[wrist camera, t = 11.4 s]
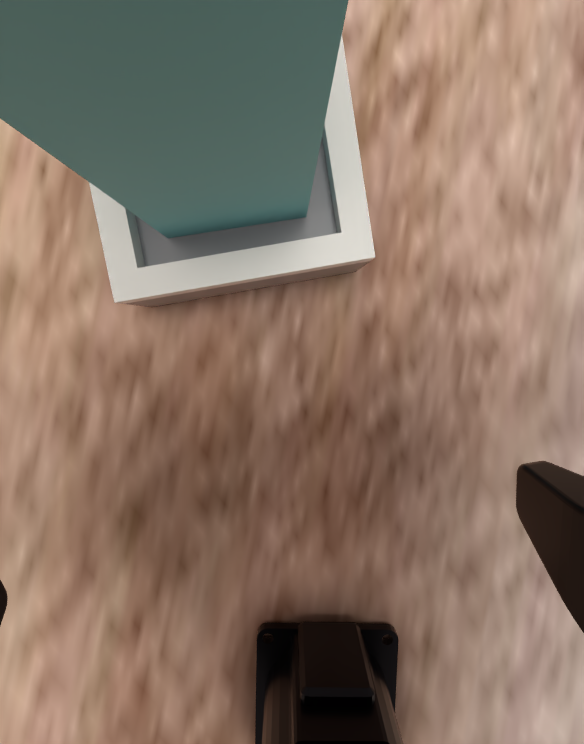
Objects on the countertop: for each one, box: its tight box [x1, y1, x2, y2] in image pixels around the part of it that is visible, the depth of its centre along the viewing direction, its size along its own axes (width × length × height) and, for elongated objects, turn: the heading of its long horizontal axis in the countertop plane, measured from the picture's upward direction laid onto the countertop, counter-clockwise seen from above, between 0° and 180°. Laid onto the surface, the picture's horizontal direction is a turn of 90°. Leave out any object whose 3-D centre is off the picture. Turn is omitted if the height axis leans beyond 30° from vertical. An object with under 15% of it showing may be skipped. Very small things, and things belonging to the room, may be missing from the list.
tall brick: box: [0, 0, 348, 238], centre depth 10 cm, size 5×5×14 cm
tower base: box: [89, 35, 375, 307], centre depth 18 cm, size 9×9×4 cm
